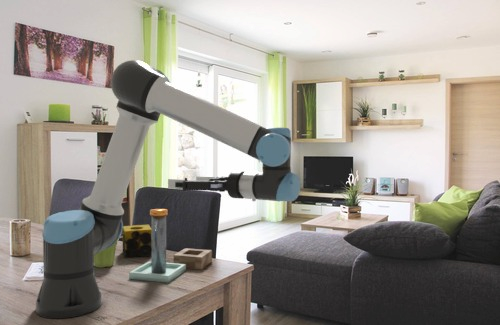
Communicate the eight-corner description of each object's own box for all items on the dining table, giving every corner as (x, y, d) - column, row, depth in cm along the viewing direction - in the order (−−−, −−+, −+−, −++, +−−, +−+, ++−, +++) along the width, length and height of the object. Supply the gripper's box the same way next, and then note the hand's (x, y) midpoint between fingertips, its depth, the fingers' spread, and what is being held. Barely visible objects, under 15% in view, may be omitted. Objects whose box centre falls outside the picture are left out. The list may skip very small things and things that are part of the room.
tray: (168, 282, 128) (168, 275, 128) (129, 278, 131) (129, 272, 131) (185, 270, 141) (185, 264, 140) (149, 267, 144) (149, 261, 144)
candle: (149, 249, 167) (149, 224, 167) (153, 256, 158) (153, 229, 158) (122, 251, 164) (122, 225, 163) (124, 258, 154) (124, 230, 154)
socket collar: (201, 269, 142) (201, 257, 142) (173, 266, 144) (173, 255, 144) (211, 261, 152) (211, 250, 151) (185, 259, 154) (185, 248, 154)
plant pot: (109, 270, 140) (109, 243, 139) (83, 268, 142) (83, 242, 141) (123, 262, 149) (123, 237, 148) (98, 260, 151) (98, 236, 150)
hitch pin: (162, 274, 133) (163, 211, 132) (146, 273, 134) (146, 210, 133) (170, 270, 138) (170, 209, 137) (154, 268, 139) (154, 208, 139)
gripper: (220, 203, 109) (155, 198, 119) (265, 194, 130) (207, 190, 141) (220, 173, 108) (155, 171, 119) (265, 169, 130) (207, 167, 141)
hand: (183, 182), depth 130 cm, fingers open, 13 cm apart
